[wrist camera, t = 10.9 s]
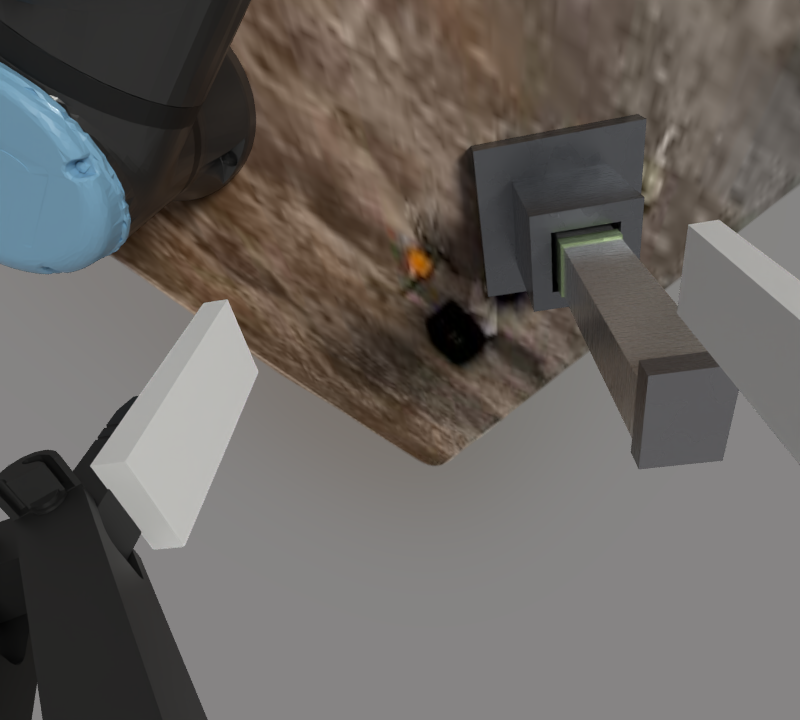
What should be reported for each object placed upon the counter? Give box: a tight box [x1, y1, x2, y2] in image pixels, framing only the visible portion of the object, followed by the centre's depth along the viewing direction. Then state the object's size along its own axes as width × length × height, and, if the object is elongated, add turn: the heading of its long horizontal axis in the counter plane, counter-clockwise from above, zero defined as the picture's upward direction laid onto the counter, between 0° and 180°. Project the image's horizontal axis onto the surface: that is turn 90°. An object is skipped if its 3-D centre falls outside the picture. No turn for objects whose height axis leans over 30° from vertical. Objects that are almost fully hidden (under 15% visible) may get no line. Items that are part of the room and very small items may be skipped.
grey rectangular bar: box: [551, 223, 739, 469], centre depth 33 cm, size 4×6×21 cm
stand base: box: [471, 114, 646, 312], centre depth 44 cm, size 14×14×11 cm
